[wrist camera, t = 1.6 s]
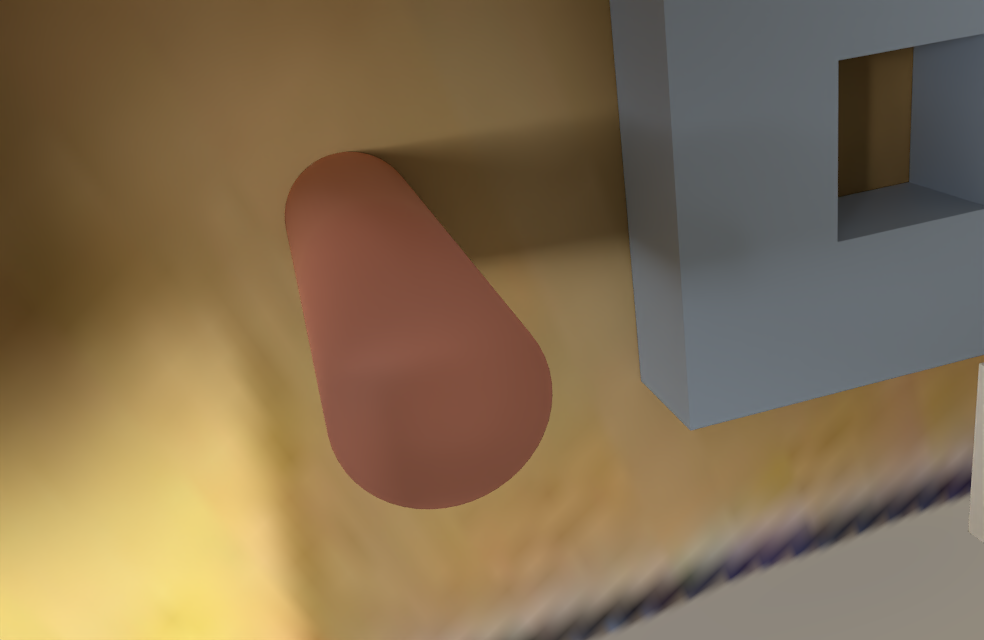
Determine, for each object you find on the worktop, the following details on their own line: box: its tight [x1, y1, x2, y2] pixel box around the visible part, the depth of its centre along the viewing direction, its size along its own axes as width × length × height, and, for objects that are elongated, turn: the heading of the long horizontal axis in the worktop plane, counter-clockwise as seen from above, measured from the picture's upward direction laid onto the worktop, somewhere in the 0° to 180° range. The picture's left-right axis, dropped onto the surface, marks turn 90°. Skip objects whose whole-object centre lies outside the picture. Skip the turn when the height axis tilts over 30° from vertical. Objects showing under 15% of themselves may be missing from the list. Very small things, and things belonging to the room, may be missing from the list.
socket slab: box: [610, 0, 984, 431], centre depth 30 cm, size 16×16×4 cm
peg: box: [285, 152, 552, 509], centre depth 23 cm, size 4×4×14 cm
